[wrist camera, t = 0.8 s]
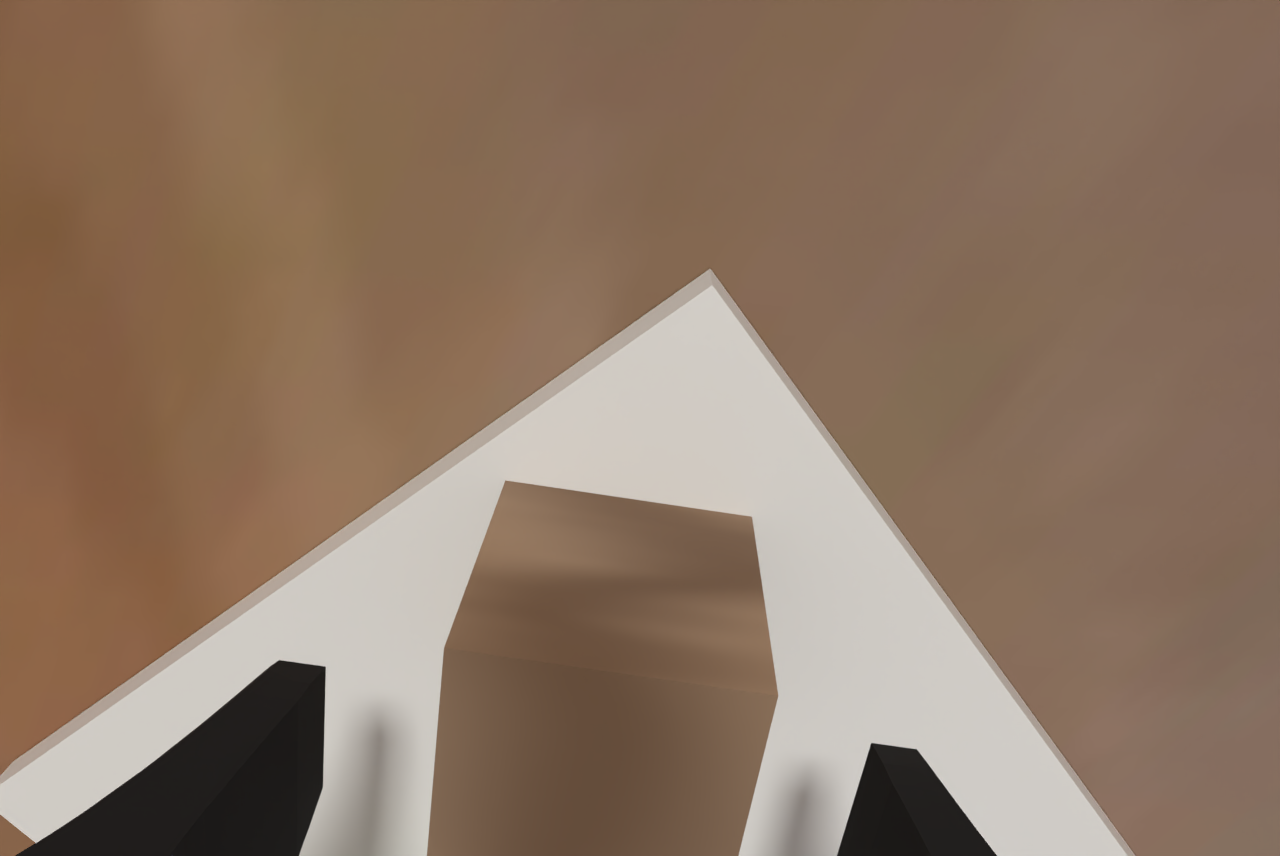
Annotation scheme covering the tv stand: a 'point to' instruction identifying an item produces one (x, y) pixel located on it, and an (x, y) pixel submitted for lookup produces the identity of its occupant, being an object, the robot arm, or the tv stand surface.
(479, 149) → the tv stand surface
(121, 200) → the tv stand surface
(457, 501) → the baseplate
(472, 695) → the walnut cube
